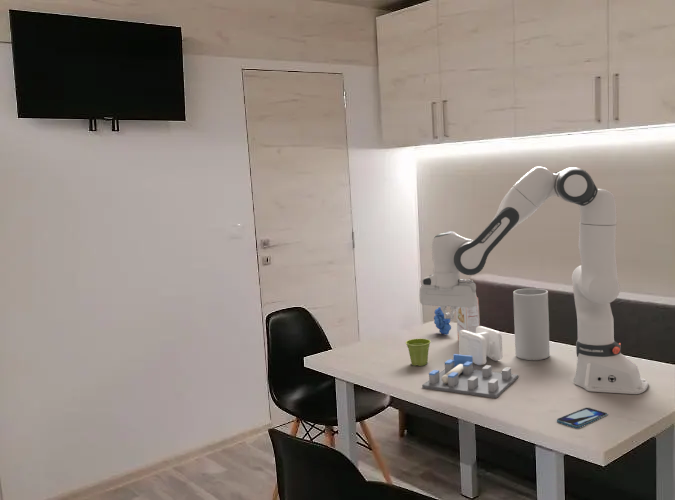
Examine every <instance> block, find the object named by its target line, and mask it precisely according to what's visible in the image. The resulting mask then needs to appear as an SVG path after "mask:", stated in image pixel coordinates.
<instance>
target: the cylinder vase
mask: <svg viewBox="0 0 675 500" xmlns="http://www.w3.org/2000/svg"><path fill="white" fill-rule="evenodd" d="M512 294H513V298H512V299H513V317H514V318H513V319H514V323H513V324H514V347H515V349H514V350H515V357H516V358H519V359H521V360H525V361H541V360H544V359H547V358H549V357H550V321H549V319H550V318H549V291H548V290H547V289H543V288H534V287H533V288H521V289H520V288H519V289H516V290H514V291H513V293H512Z"/></svg>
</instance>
